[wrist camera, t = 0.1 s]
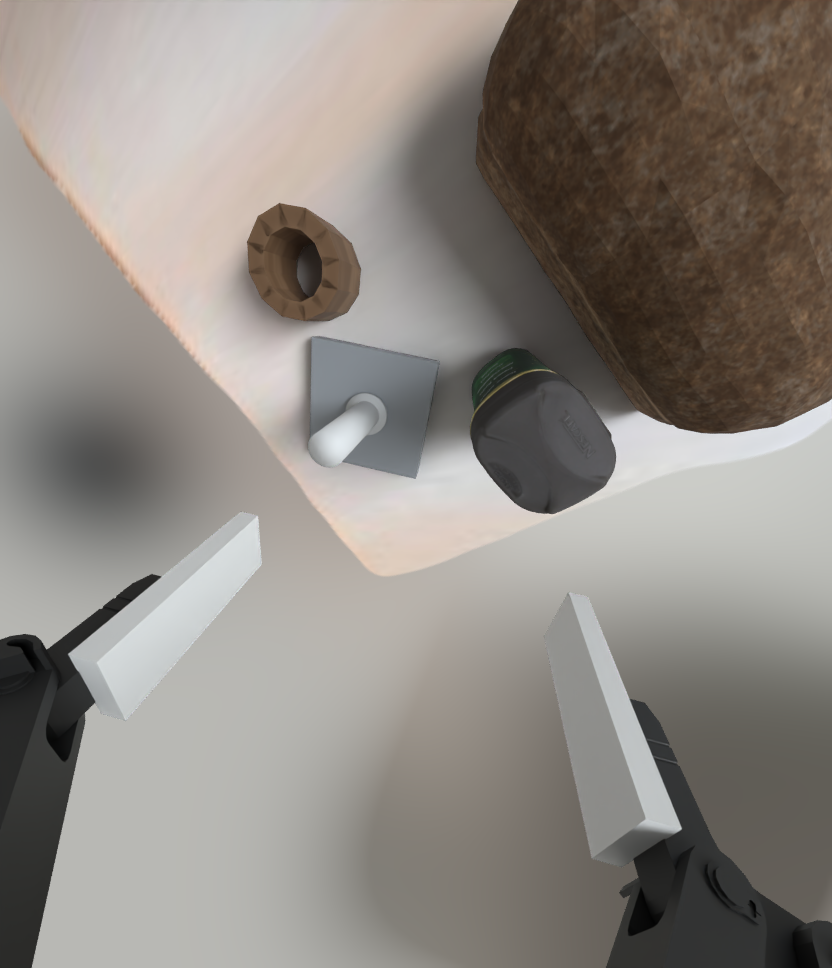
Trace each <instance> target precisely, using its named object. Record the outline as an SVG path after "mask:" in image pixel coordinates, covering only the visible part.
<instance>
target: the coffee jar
mask: <svg viewBox="0 0 832 968" xmlns="http://www.w3.org/2000/svg"><path fill="white" fill-rule="evenodd" d="M472 400H473V405H474V414H473V416H472V419H471V424H470V435H471V440H472V444H473V449H474V452H475V455H476V457H477V459H478V460H479V462H480V463H481V465H482V466H483V467H484V469H485V470H486V472H487V473H488V474H489V476H490V477H491V478H492V479H493V481H494V482H495V483H496V484H497V485H498V486H499V487H500V488H501V489H502V491H503V492H504V493H505V494H506V495H507V496H508V497H509V498H510V499H511V500H512V501H513V502H514V503H516V504H517V505H518V506H520V507H522V508H524V509H526V510H528V511H532V512H536V513H543V514H547V513H549V514H555V513H557V512H560V511H562V510H564V509H566V508H568V507H571V506H573V505H575V504H577V503H579V502H580V501H582V500H584V499H586V498H588V497H589V496H591V495H593V494H594V493H596V492H597V491H599V490H600V489H602V488H603V487H604V486H605V485H606V484H607V482H608V480H609V479H610V477H611V475H612V473H613V471H614V468H615V463H616V452H615V447H614V444H613V442H612V440H611V433H610V432H609V430H608V429H607V427H606V426H605V425H604V423H603V422H602V420H601V419H600V417H599V416H598V414H597V413H596V412H595V410H594V409H593V407H592V406H591V404H590V403H589V401H588V400H587V398H586V397H585V395H584V394H583V392H581V391H579V390H577V389H576V388H575V387H574V386H573V385H572V384H570V382H569V381H568V380H566V379H565V378H564V377H563V376H561V375H559V374H558V373H555V372H553V371H551V370H550V369H549V368H548V367H546V366H545V365H544V364H543V363H542V362H540V361H539V360H538V359H537V358H536V357H535V356H534V355H532V354H531V353H530V352H528V351H526V350H523V349H519V348H514V349H510V350H507V351H504V352H503V353H501V354H499V355H498V356H496V357H495V358H494V359H493V360H491V361H490V362H489V363H488V364H486V365H485V366H484V367H483V368H482V369H481V370H480V372H479V373H478V374H477V375H476V377H475V379H474V381H473V384H472Z"/></svg>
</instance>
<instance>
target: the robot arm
mask: <svg viewBox="0 0 832 968" xmlns="http://www.w3.org/2000/svg"><path fill="white" fill-rule="evenodd" d="M261 564H262V563H261V551H260V537H259V524H258V516H257V515H253V514H249V513H245V512H240V513H239V514H237V515H236V516H235V517H234V518H232V519H231V520H230V521H229V522H228V523H226V524H225V525H224V526H223V527H221V528H220V529H219V530H218V531H217V532H215V533H214V534H213V535H212V536H211V537H209V538H208V539H207V540H206V541H205V542H203V543H202V544H201V545H200V546H199V547H197V548H196V549H195V550H194V551H193V552H191V553H190V554H189V555H188V556H186V557H185V558H184V559H183V560H182V561H180V562H179V563H178V564H177V565H176V566H174V567H173V568H172V569H171V570H169V571H168V572H167V573H166V574H165V575H163V576H162V577H161V576H157V575H153V574H151V575H149V576H147V577H145V578H143V579H141V580H139V581H137V582H135V583H133V584H131V585H130V586H129V587H127V588H126V589H125V590H123V592H121V593H120V594H118V595H117V597H116V598H115V599H112V600H111V601H109V602H108V603H107V604H105V605H104V606H103V608H102V609H99V610H98V611H96V612H95V613H94V614H93V615H91V616H90V617H89V618H87V619H86V620H85V621H83V622H82V623H81V624H80V625H79V626H77V627H76V628H74V629H73V630H72V631H71V632H69V633H68V634H67V635H65V636H64V637H63V638H62V639H61V640H59V641H58V642H56V643H55V644H54V645H53V646H51V647H50V648H49V649H47V650H46V648H45V647H44V645H43V643H42V641H41V640H40V639H39V638H38V637H36V636H34V635H28V634H23V635H15V636H9V637H7V638H4V639H1V640H0V968H32V963H33V959H34V954H35V950H36V945H37V940H38V936H39V931H40V927H41V922H42V918H43V913H44V908H45V904H46V899H47V895H48V890H49V886H50V881H51V876H52V872H53V867H54V863H55V858H56V853H57V849H58V844H59V839H60V835H61V830H62V825H63V821H64V817H65V812H66V807H67V803H68V798H69V793H70V789H71V785H72V780H73V775H74V771H75V766H76V761H77V757H78V753H79V748H80V743H81V739H82V734H83V730H84V725H85V712H86V711H87V710H88V709H89V708H90V707H91V706H92V705H93V704H94V703H95V704H96V705H97V707H98V709H99V711H100V713H101V714H104V715H107V716H111V717H114V718H117V719H121V720H124V721H126V720H127V718H129V716H130V715H131V714H132V713H133V712H134V711H135V710H136V708H137V707H138V706H139V705H140V704H141V703H142V702H143V700H144V699H145V698H146V697H147V696H148V695H149V693H150V692H151V691H152V690H153V689H154V688H155V687H156V685H157V684H158V683H159V682H160V681H161V680H162V679H163V677H164V676H165V675H166V674H167V673H168V672H169V670H170V669H171V668H172V667H173V666H174V664H176V662H177V661H178V660H179V659H180V658H181V657H182V655H183V654H184V653H185V652H186V651H187V650H188V648H189V647H190V646H191V645H192V644H193V643H194V641H195V640H196V639H197V638H198V637H199V636H200V635H201V633H202V632H203V631H204V630H205V629H206V628H207V627H208V625H209V624H210V623H211V622H212V621H213V620H214V619H215V617H216V616H217V615H218V614H219V613H220V612H221V610H222V609H223V608H224V607H225V606H226V605H227V604H228V602H229V601H230V600H231V599H232V598H233V597H234V595H235V594H236V593H237V592H238V591H239V590H240V588H241V587H242V586H243V585H244V584H245V583H246V582H247V580H248V579H249V578H250V577H251V576H252V575H253V574H254V572H255V571H256V570H257V569H258V568H259V567H260V565H261ZM544 639H545V644H546V648H547V653H548V658H549V663H550V667H551V672H552V677H553V681H554V686H555V691H556V695H557V700H558V704H559V709H560V713H561V718H562V723H563V727H564V732H565V736H566V741H567V746H568V751H569V755H570V760H571V765H572V769H573V773H574V778H575V782H576V787H577V792H578V797H579V802H580V806H581V811H582V815H583V820H584V825H585V829H586V834H587V838H588V843H589V848H590V852H591V857H592V859H595V860H598V861H602V862H605V863H609V864H612V865H616V866H619V867H623V866H625V865H626V864H628V863H629V862H631V861H633V860H634V863H635V867H636V870H637V873H638V876H639V878H637V879H635V880H634V881H632V882H630V883H628V884H627V885H625V886H624V887H623V888H622V890H621V891H620V892H619V893H620V894H621V895H622V897H623V898H625V897H627V896H629V895H630V897H629V900H628V903H627V907H626V909H625V912H624V915H623V918H622V921H621V924H620V927H619V930H618V933H617V936H616V939H615V942H614V945H613V948H612V951H611V954H610V957H609V960H608V963H607V966H606V968H832V923H830V922H828V921H818V920H817V921H814V922H810V923H807V924H806V923H804V922H802V921H801V920H799V919H798V918H796V917H795V916H793V915H792V914H790V913H789V912H787V911H786V910H784V909H783V908H781V907H780V906H778V905H777V904H775V903H774V902H772V901H771V900H769V899H768V898H766V897H765V896H763V895H762V894H760V893H759V892H758V891H756V890H755V889H754V888H753V887H752V886H751V884H750V883H749V881H748V879H747V878H746V876H745V875H744V874H743V873H742V871H741V870H740V869H739V868H738V867H737V866H736V865H735V864H734V862H733V861H732V860H731V859H730V858H728V857H727V856H726V855H724V854H723V853H722V852H721V851H720V850H719V849H718V847H717V845H716V843H715V842H714V840H713V838H712V836H711V834H710V832H709V830H708V827H707V825H706V823H705V821H704V819H703V816H702V814H701V812H700V810H699V808H698V806H697V803H696V801H695V799H694V797H693V795H692V792H691V790H690V788H689V786H688V784H687V781H686V779H685V777H684V775H683V773H682V771H681V768H680V766H678V765H677V759H676V757H675V755H674V753H673V751H672V749H671V748H670V747H669V742H668V740H667V738H666V735H665V733H664V731H663V729H662V727H661V724H660V723H659V721H658V720H657V718H656V717H655V716H654V714H653V713H652V712H651V711H650V709H649V708H648V706H647V705H646V704H645V703H643V702H639V701H636V700H632V699H629V697H628V694H627V692H626V690H625V687H624V685H623V682H622V680H621V677H620V675H619V672H618V670H617V667H616V665H615V662H614V660H613V657H612V655H611V653H610V650H609V648H608V645H607V643H606V640H605V638H604V635H603V633H602V630H601V628H600V626H599V623H598V620H597V618H596V615H595V613H594V611H593V608H592V606H591V603H590V601H589V598H588V597H587V596H583V595H579V594H575V593H571V592H568V594H567V596H566V597H565V599H564V601H563V603H562V605H561V606H560V608H559V610H558V612H557V614H556V615H555V617H554V619H553V621H552V623H551V624H550V626H549V628H548V630H547V631H546V633H545V635H544Z"/></svg>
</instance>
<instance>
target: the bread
mask: <svg viewBox="0 0 832 968" xmlns="http://www.w3.org/2000/svg"><path fill="white" fill-rule="evenodd" d="M476 164H477V166H478V168H479V170H480V172H481V173H482V175H483V177H484V179H485V181H486V182H487V184H488V185H489V187H490V188H491V190H492V191H493V192H494V194H495V195H496V197H497V198H498V200H499V201H500V203H501V205H502V206H503V208H504V209H505V211H506V213H507V214H508V216H509V217H510V219H511V220H512V221H513V223H514V224H515V226H516V227H517V229H518V230H519V232H520V233H521V235H522V237H523V238H524V240H525V241H526V243H527V244H528V246H529V248H530V249H531V251H532V252H533V254H534V255H535V257H536V258H537V260H538V262H539V263H540V265H541V267H542V269H543V270H544V272H545V273H546V274H547V276H548V277H549V278H550V279H551V281H552V282H553V284H554V285H555V287H556V288H557V290H558V291H559V293H560V294H561V296H562V297H563V299H564V300H565V302H566V303H567V304H568V306H569V308H570V309H571V311H572V313H573V315H574V316H575V318H576V320H577V321H578V323H579V325H580V326H581V328H582V329H583V331H584V333H585V334H586V336H587V337H588V339H589V340H590V342H591V343H592V345H593V346H594V348H595V349H596V350H597V352H598V353H599V355H600V356H601V358H602V359H603V360H604V362H605V363H606V365H607V366H608V368H609V369H610V371H611V372H612V373H613V375H614V377H615V378H616V380H617V381H618V383H619V384H620V386H621V387H622V389H623V390H624V392H625V393H626V395H627V396H628V398H629V399H630V401H631V402H632V403H633V405H634V406H635V408H636V409H637V410H638V411H640V412H642V413H643V414H645V415H647V416H649V417H651V418H653V419H655V420H657V421H660V422H663V423H666V424H669V425H674V426H676V427H677V428H679V429H684V430H689V431H694V432H699V433H710V434H717V433H738V432H744V431H749V430H755V429H762V428H769V427H775V426H778V425H780V424H783V423H785V422H787V421H789V420H791V419H793V418H795V417H797V416H800V415H802V414H804V413H806V412H808V411H810V410H812V409H814V408H816V407H818V406H820V405H822V404H824V403H827V402H828V401H830V400H831V399H832V0H518V2H517V4H516V6H515V8H514V10H513V12H512V14H511V15H510V17H509V19H508V21H507V23H506V25H505V27H504V30H503V32H502V34H501V36H500V39H499V41H498V43H497V45H496V48H495V50H494V52H493V54H492V56H491V60H490V64H489V68H488V73H487V77H486V81H485V85H484V89H483V109H482V111H481V113H480V115H479V117H478V131H477V148H476Z"/></svg>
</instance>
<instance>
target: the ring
mask: <svg viewBox="0 0 832 968" xmlns="http://www.w3.org/2000/svg"><path fill="white" fill-rule="evenodd" d="M313 242H314V243H315V245H316V247H317V250H318V252H319V255H320V257H321V260H322V282H321V284H320V285H319V287H318V289H317V291H316V293H315V294H314V296H312V297H310V298H309V297H308V296H307V295H306V294H305V293H304V292H303V291H302V288H301V286H300V284H299V281H298V279H297V260H298V258H299V256H300V254H301V252H302V250H303V248H304V247H306V246H308V245H310V244H311V243H313ZM247 245H248V261H249V273H250V275H251V277H252V279H253V281H254V283H255V285H256V287H257V289H258V292H259V294H260V296H261V298H262V299H263V300H264V301H265V302H266V303H267V304H269V305H270V306H271V307H272V308H273V309H274V310H275V311H277V312H278V313H279V314H280V315H281V316H283V317H288V318H293V319H298V320H303V321H330V320H332V319H334V318H336V317H339V316H341V315H343V314H345V313H347V312H348V311H349V309H350V307H351V306H352V304H353V303H354V301H355V299H356V298H357V296H358V295H359V285H360V272H361V268H360V265H359V263H358V260H357V257H356V254H355V252H354V249H353V246H352V243H350V242H349V241H348V240H347V239H346V238H345V237H344V236H343V235H342V234H341V233H340V232H339V231H338V230H337V229H336V228H335V227H334V226H333V225H331V224H329V223H328V222H326V221H325V220H323V219H322V218H320V217H319V216H317V215H316V214H314V213H312V212H311V211H309V210H308V209H306V208H302V207H297V206H291V205H286V204H281V203H279V204H277V205H276V206H274V207H273V208H271V209H269V210H268V211H266V212H264V213H263V214H261V215H259V216H258V218H257V220H256V222H255V225H254V227H253V229H252V232H251V234H250V237H249V239H248V241H247Z"/></svg>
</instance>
